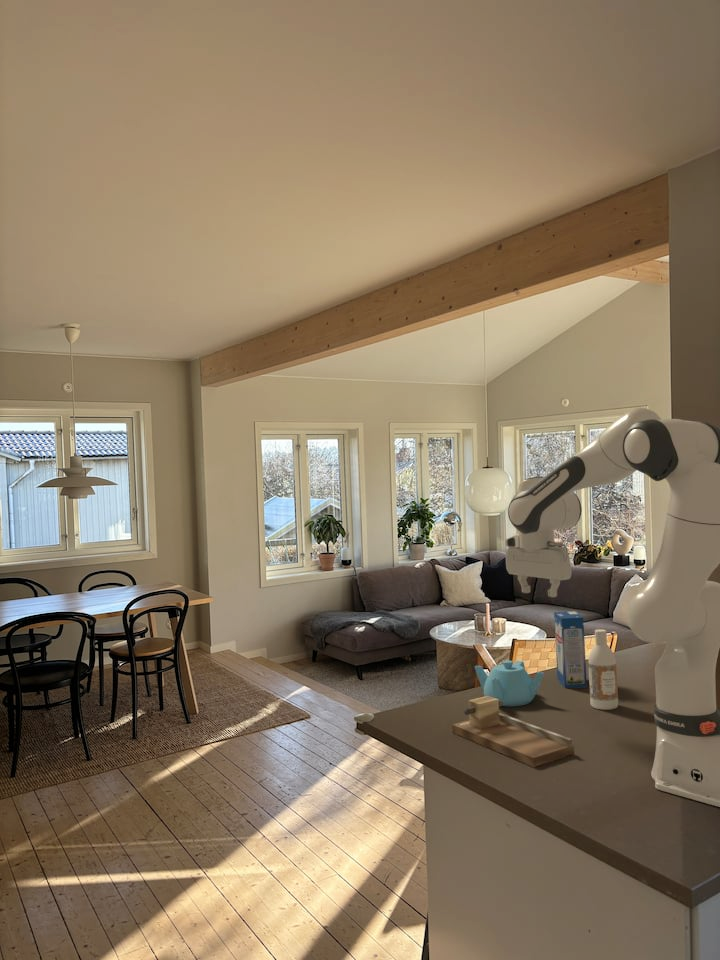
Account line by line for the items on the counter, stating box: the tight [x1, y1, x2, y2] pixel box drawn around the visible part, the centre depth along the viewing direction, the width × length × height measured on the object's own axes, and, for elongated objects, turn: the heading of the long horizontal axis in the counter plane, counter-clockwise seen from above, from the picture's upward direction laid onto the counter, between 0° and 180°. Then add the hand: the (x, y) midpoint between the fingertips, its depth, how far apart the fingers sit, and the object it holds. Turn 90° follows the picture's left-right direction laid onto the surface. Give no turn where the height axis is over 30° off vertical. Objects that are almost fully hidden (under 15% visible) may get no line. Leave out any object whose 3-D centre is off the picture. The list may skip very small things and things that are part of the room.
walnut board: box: [451, 712, 575, 768], centre depth 176 cm, size 28×12×4 cm, turn 31°
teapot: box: [474, 660, 545, 707], centre depth 209 cm, size 15×15×11 cm
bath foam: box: [587, 628, 619, 711], centre depth 199 cm, size 7×7×20 cm
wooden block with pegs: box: [463, 695, 503, 729], centre depth 184 cm, size 4×11×6 cm, turn 121°
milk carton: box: [553, 610, 588, 689], centre depth 223 cm, size 10×6×20 cm, turn 178°
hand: (539, 594), depth 194 cm, fingers open, 8 cm apart
